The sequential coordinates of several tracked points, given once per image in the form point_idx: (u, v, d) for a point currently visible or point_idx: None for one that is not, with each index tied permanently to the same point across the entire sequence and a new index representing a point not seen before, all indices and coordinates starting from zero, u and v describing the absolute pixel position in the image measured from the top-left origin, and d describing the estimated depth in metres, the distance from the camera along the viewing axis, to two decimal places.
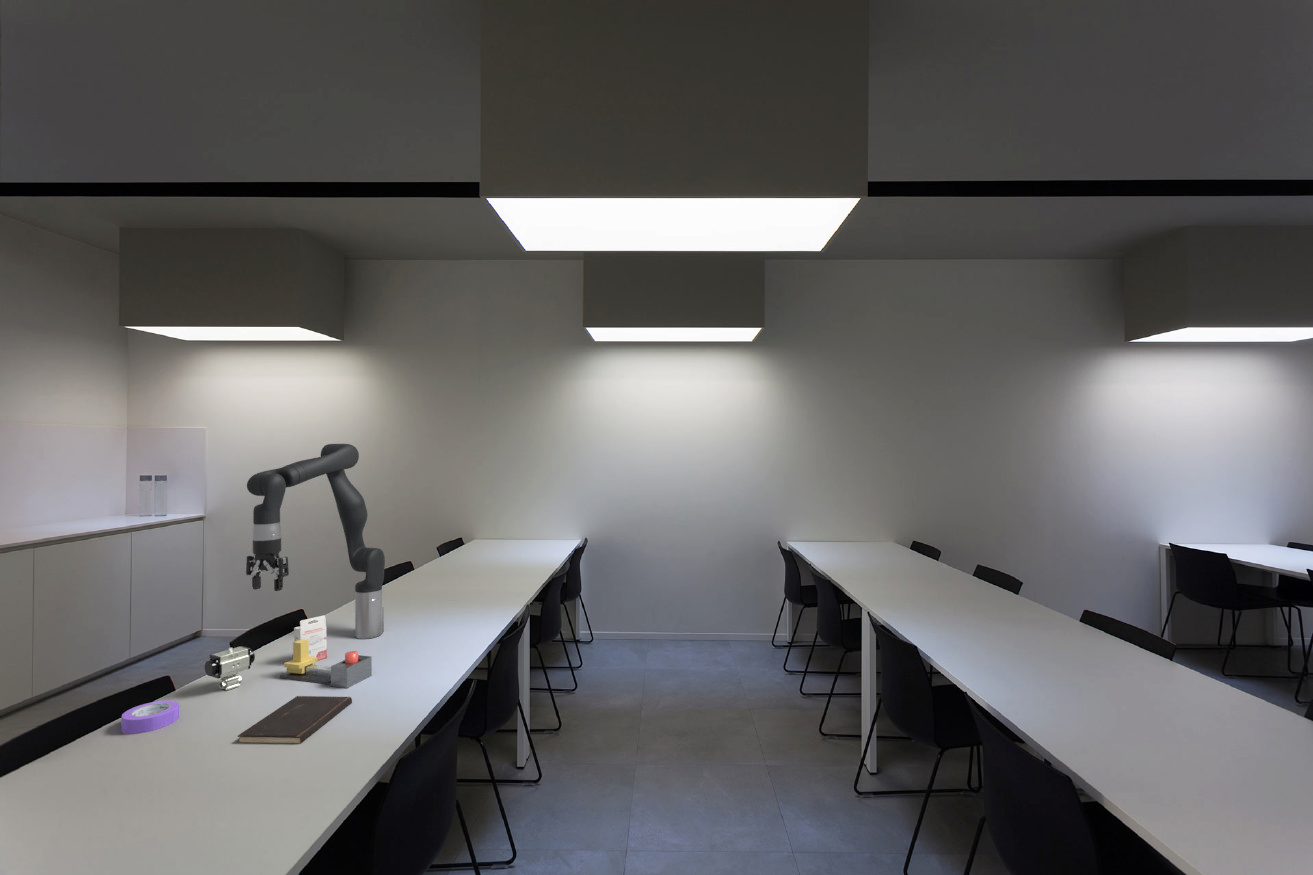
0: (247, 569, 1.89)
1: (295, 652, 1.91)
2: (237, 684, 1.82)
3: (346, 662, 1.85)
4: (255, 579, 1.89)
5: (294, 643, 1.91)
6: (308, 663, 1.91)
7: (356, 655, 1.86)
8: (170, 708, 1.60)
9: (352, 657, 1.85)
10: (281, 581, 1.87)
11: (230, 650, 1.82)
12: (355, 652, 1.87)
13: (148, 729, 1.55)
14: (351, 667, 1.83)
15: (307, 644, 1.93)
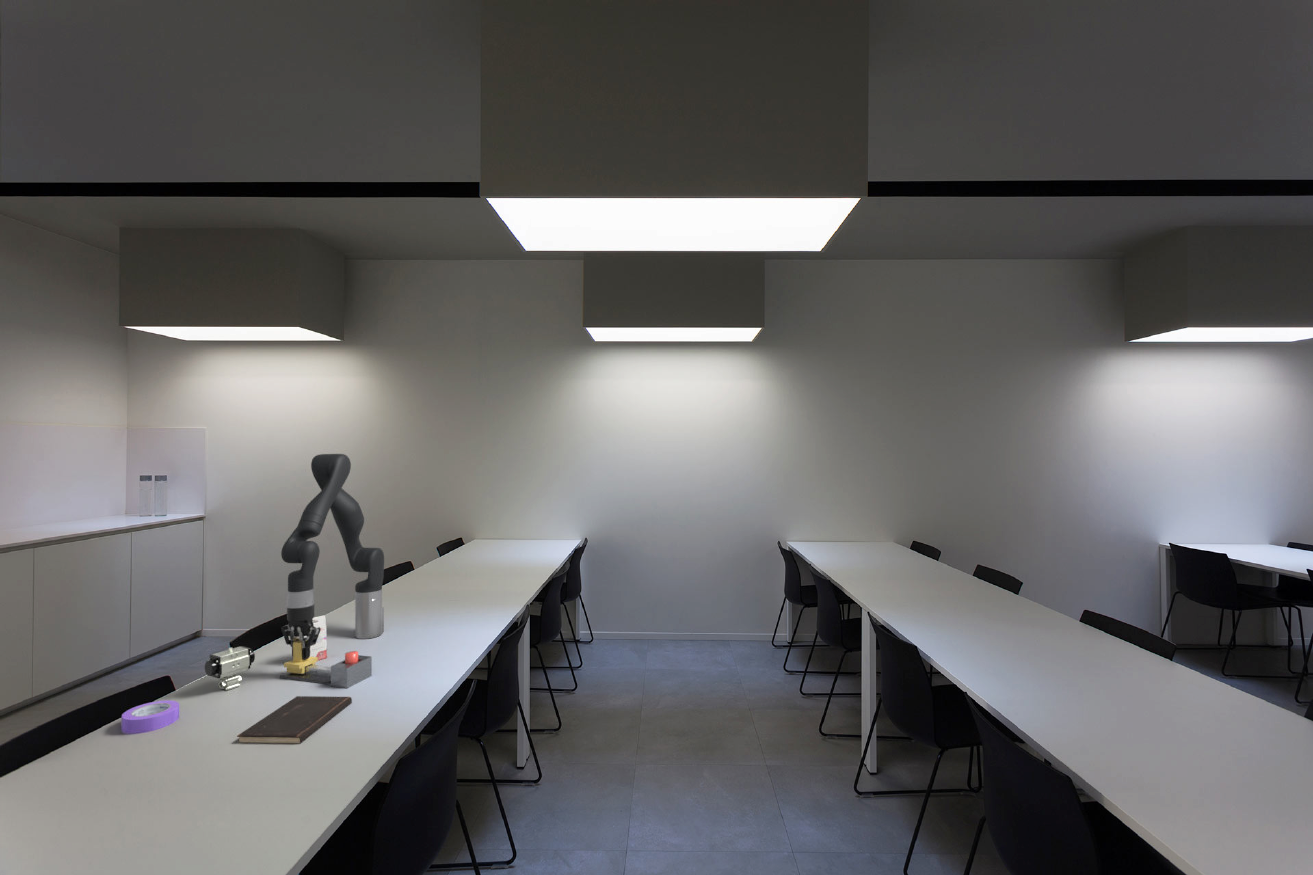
0: (286, 639, 1.92)
1: (295, 652, 1.91)
2: (237, 684, 1.82)
3: (346, 662, 1.85)
4: None
5: (294, 643, 1.91)
6: (308, 663, 1.91)
7: (356, 655, 1.86)
8: (170, 708, 1.60)
9: (352, 657, 1.85)
10: (308, 650, 1.92)
11: (230, 650, 1.82)
12: (355, 652, 1.87)
13: (148, 729, 1.55)
14: (351, 667, 1.83)
15: None
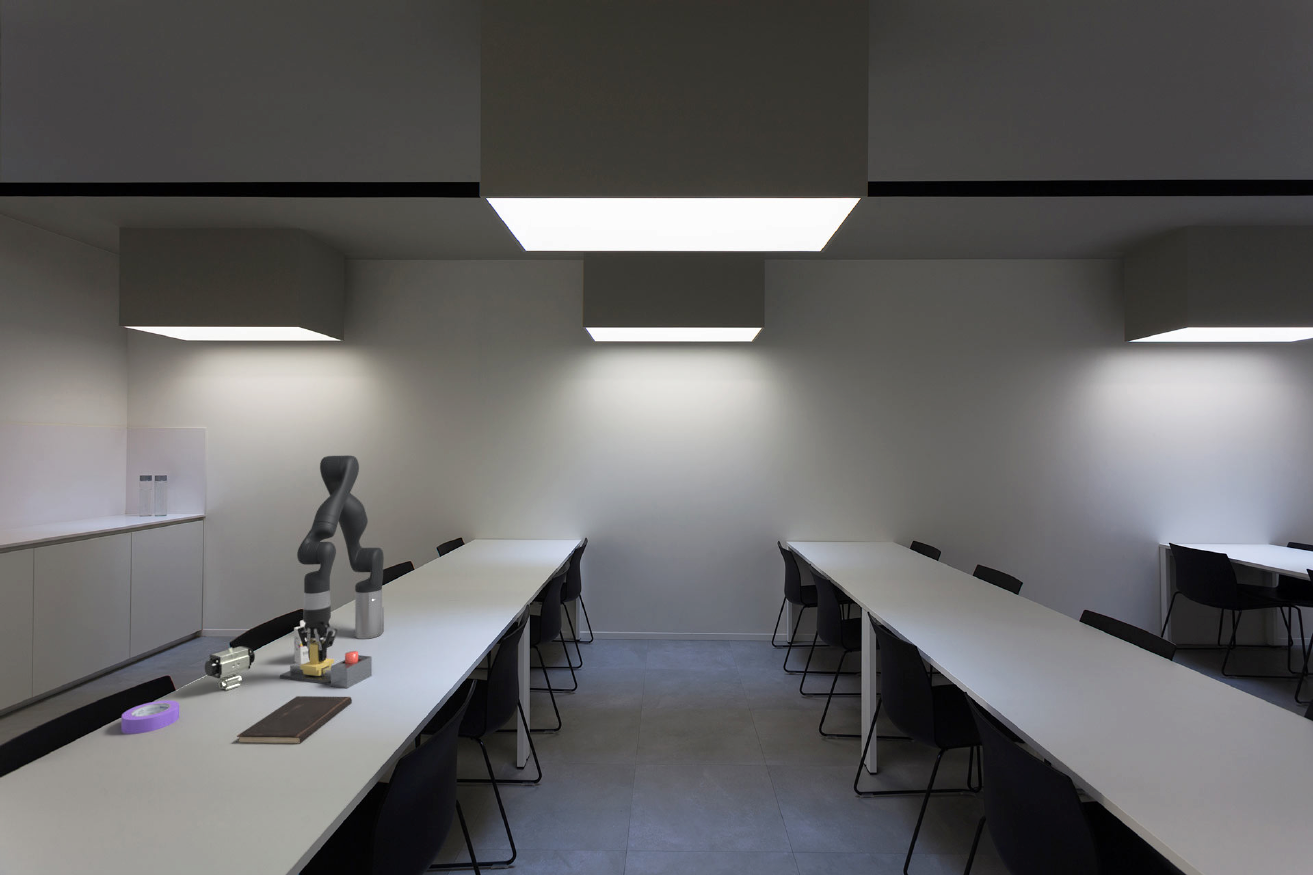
0: (302, 641, 1.90)
1: (312, 654, 1.89)
2: (237, 684, 1.82)
3: (346, 662, 1.85)
4: None
5: (311, 645, 1.89)
6: (325, 665, 1.89)
7: (356, 655, 1.86)
8: (170, 708, 1.60)
9: (352, 657, 1.85)
10: (325, 652, 1.90)
11: (230, 650, 1.82)
12: (355, 652, 1.87)
13: (148, 729, 1.55)
14: (351, 667, 1.83)
15: None
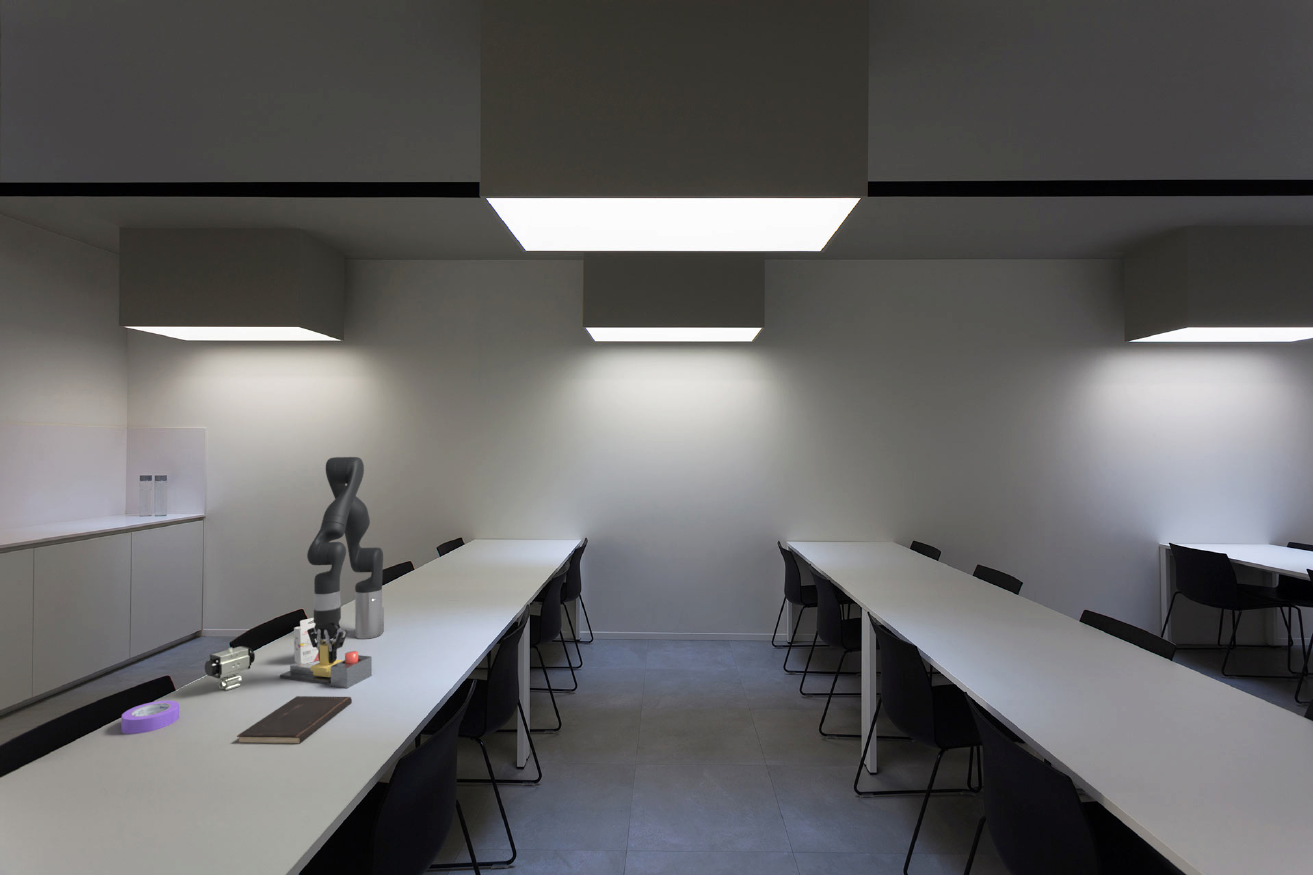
0: (312, 642, 1.89)
1: (322, 655, 1.88)
2: (237, 684, 1.82)
3: (346, 662, 1.85)
4: None
5: (321, 646, 1.88)
6: None
7: (356, 655, 1.86)
8: (170, 708, 1.60)
9: (352, 657, 1.85)
10: (335, 653, 1.89)
11: (230, 650, 1.82)
12: (355, 652, 1.87)
13: (148, 729, 1.55)
14: (351, 667, 1.83)
15: None
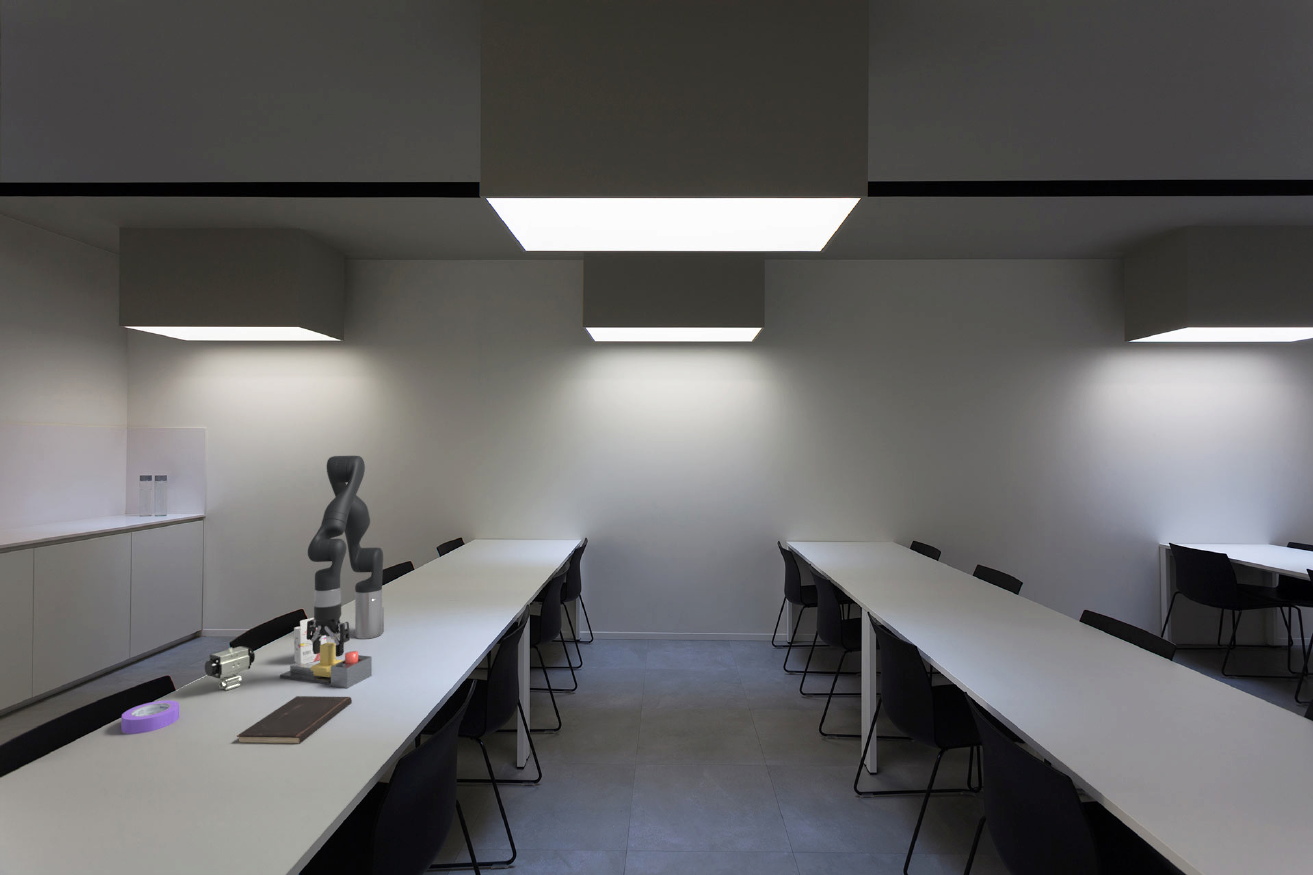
0: (307, 634, 1.90)
1: (322, 655, 1.88)
2: (237, 684, 1.82)
3: (346, 662, 1.85)
4: (316, 644, 1.90)
5: (321, 646, 1.88)
6: None
7: (356, 655, 1.86)
8: (170, 708, 1.60)
9: (352, 657, 1.85)
10: (342, 646, 1.88)
11: (230, 650, 1.82)
12: (355, 652, 1.87)
13: (148, 729, 1.55)
14: (351, 667, 1.83)
15: (334, 647, 1.90)
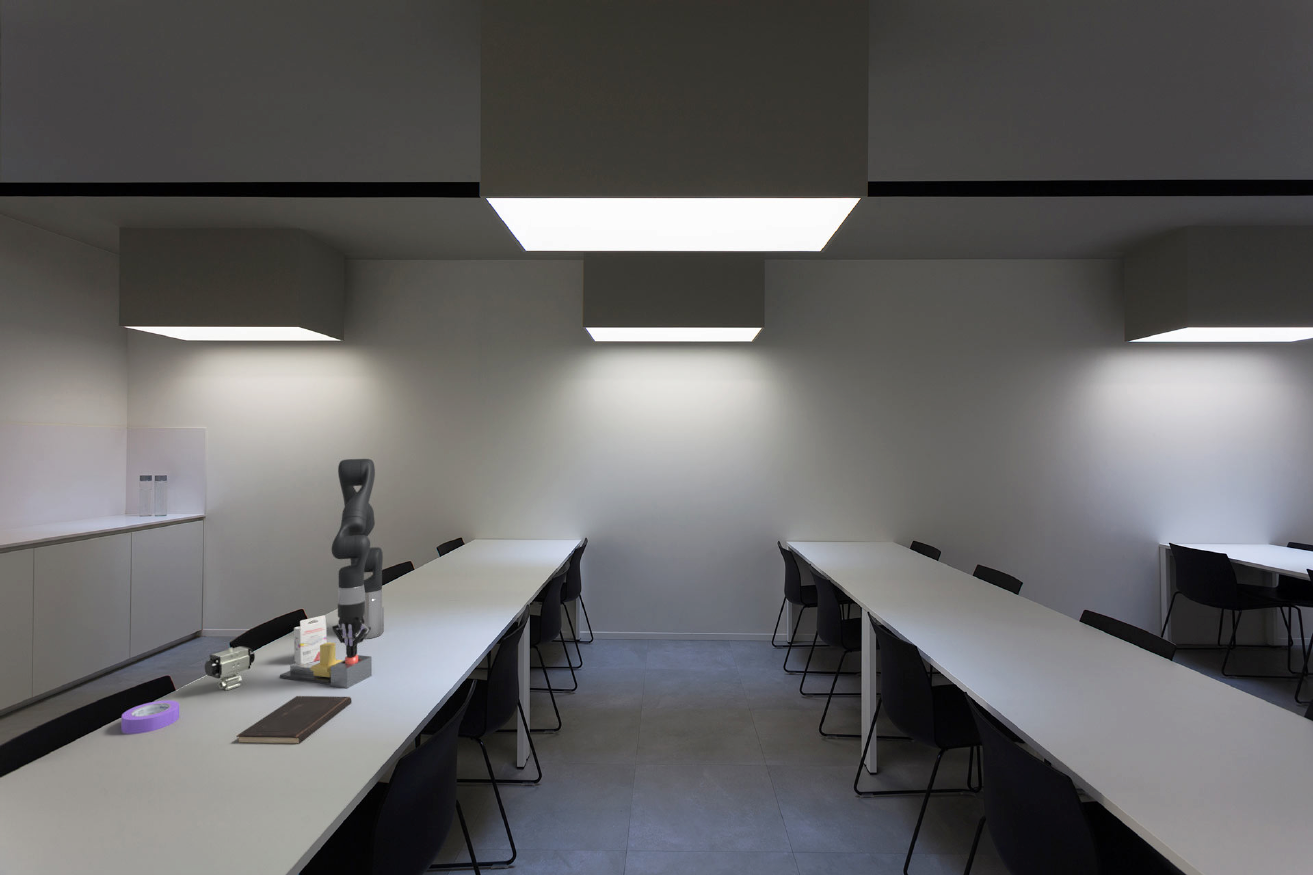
0: (339, 638, 1.87)
1: (322, 655, 1.88)
2: (237, 684, 1.82)
3: None
4: None
5: (321, 646, 1.88)
6: None
7: (356, 659, 1.86)
8: (170, 708, 1.60)
9: (352, 661, 1.85)
10: (355, 647, 1.87)
11: (230, 650, 1.82)
12: (355, 656, 1.87)
13: (148, 729, 1.55)
14: (351, 667, 1.83)
15: (334, 647, 1.90)
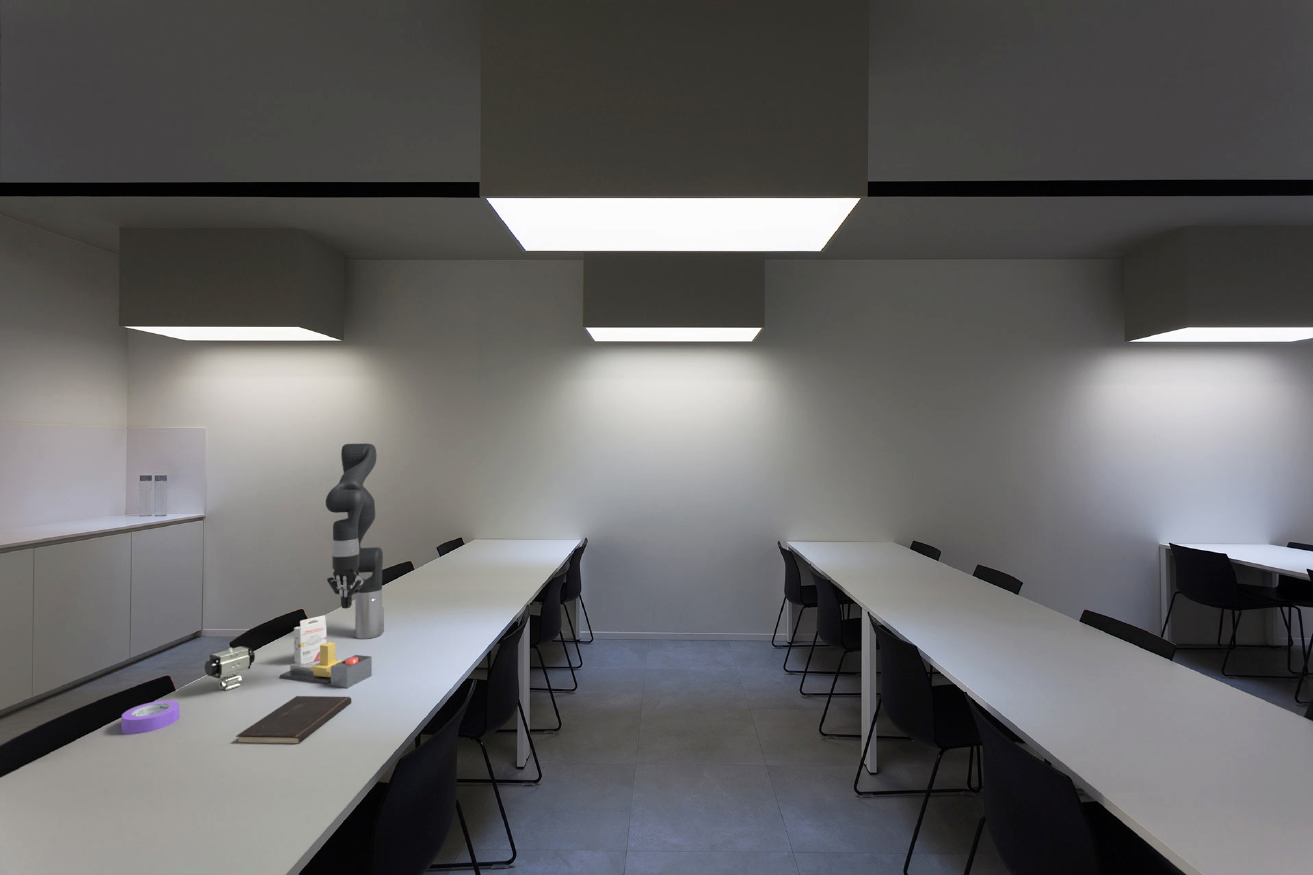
0: (334, 589, 1.91)
1: (322, 655, 1.88)
2: (237, 684, 1.82)
3: None
4: None
5: (321, 646, 1.88)
6: None
7: (356, 661, 1.86)
8: (170, 708, 1.60)
9: (352, 663, 1.85)
10: (350, 599, 1.91)
11: (230, 650, 1.82)
12: (355, 658, 1.87)
13: (148, 729, 1.55)
14: (351, 667, 1.83)
15: (334, 647, 1.90)
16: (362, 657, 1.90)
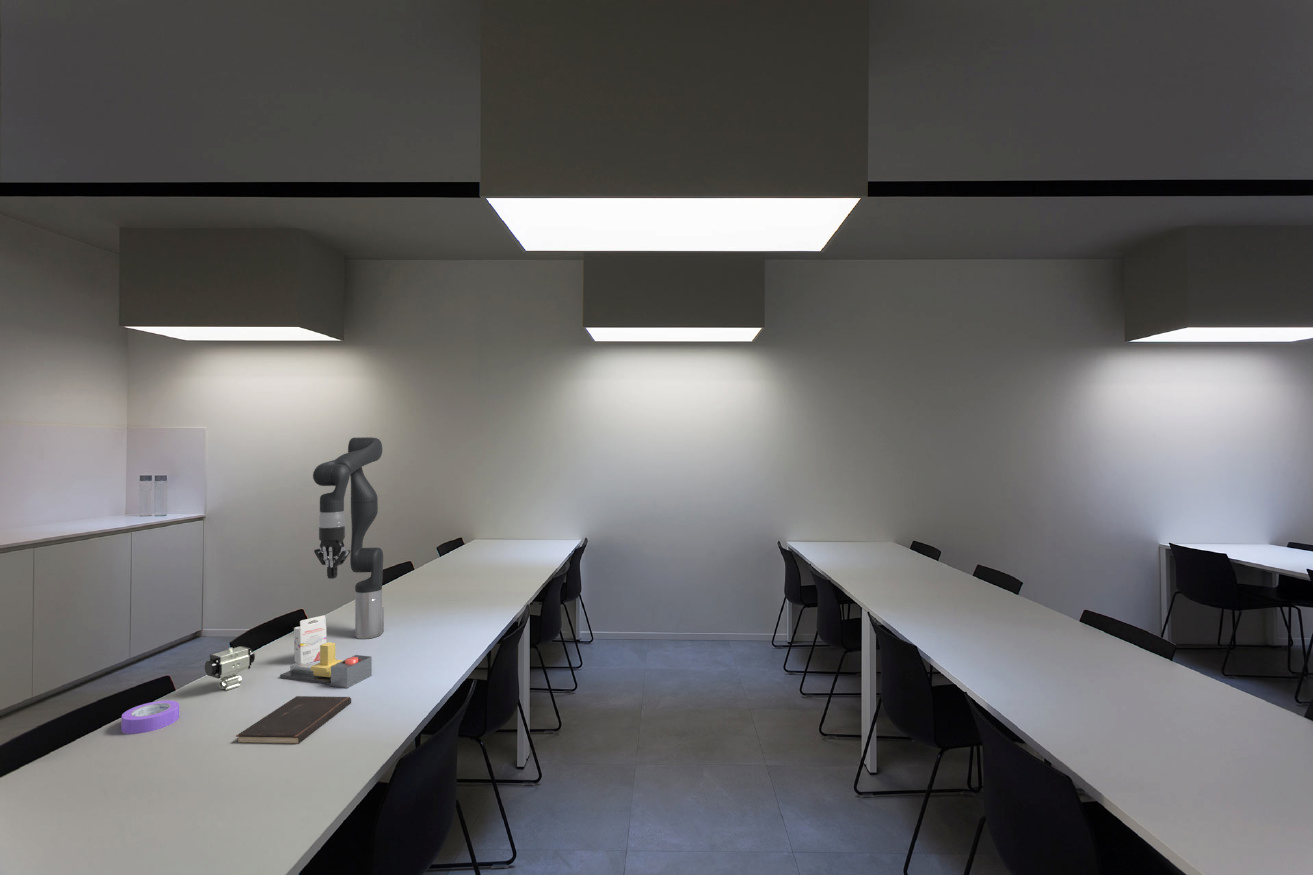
0: (320, 560, 1.98)
1: (322, 655, 1.88)
2: (237, 684, 1.82)
3: None
4: None
5: (321, 646, 1.88)
6: None
7: (356, 661, 1.86)
8: (170, 708, 1.60)
9: (352, 663, 1.85)
10: (336, 569, 1.99)
11: (230, 650, 1.82)
12: (355, 658, 1.87)
13: (148, 729, 1.55)
14: (351, 667, 1.83)
15: (334, 647, 1.90)
16: (362, 657, 1.90)
